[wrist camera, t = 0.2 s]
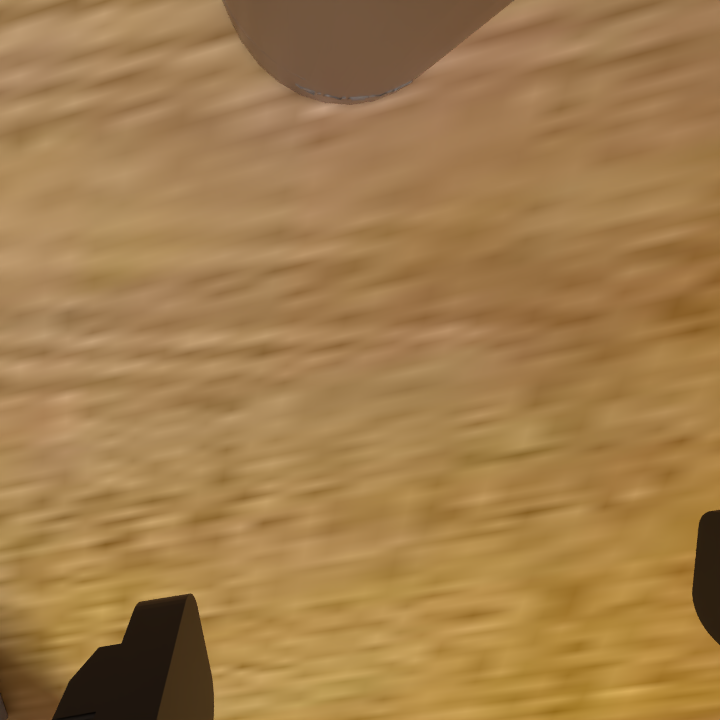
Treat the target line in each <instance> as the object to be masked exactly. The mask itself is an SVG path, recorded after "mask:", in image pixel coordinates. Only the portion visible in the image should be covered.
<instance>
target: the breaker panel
mask: <svg viewBox="0 0 720 720" xmlns="http://www.w3.org/2000/svg"><path fill="white" fill-rule="evenodd" d="M7 718H8V715H7V712H6V709H5V706H4V703H3V700H2V698H1V695H0V720H7Z"/></svg>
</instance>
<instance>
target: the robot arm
mask: <svg viewBox="0 0 720 720" xmlns="http://www.w3.org/2000/svg"><path fill="white" fill-rule="evenodd" d="M222 1H223V3H224V6H225V8H226V11H227V13H228V15H229V17H230V19H231V21H232V23H233V25H234V27H235V29H236V31H237V33H238V35H239V37H240V40H241V41H242V43H243V44H244V45H245V47H246V48H247V49H248V51H249V52H250V53H251V55H252V56H253V57H254V59H255V60H256V61H257V63H258V64H259V65H260V66H261V67H262V68H264V69H265V70H266V71H267V72H268V73H269V74H270V75H271V76H273V77H274V78H275V79H276V80H277V81H278V82H279V83H281V84H283V85H285V86H286V87H288V88H290V89H292V90H293V91H295V92H297V93H299V94H300V95H302V96H306V97H309V98H312V99H315V100H318V101H321V102H325V103H334V104H347V105H351V104H358V103H364V102H371V101H375V100H377V99H380V98H382V97H385V96H387V95H390V94H392V93H395V92H397V91H398V90H400V89H401V88H403V87H405V86H407V85H408V84H410V83H412V82H413V80H414V79H416V78H417V77H418V76H419V75H421V74H422V73H423V72H424V71H426V70H427V69H428V68H430V67H431V66H432V65H434V64H435V63H436V62H438V61H439V60H440V59H441V58H443V57H444V56H445V55H446V54H448V53H449V52H450V51H451V50H453V49H454V48H455V47H456V46H458V45H459V44H460V43H461V42H463V41H464V40H465V39H466V38H468V37H469V36H470V35H471V34H473V33H474V32H475V31H476V30H478V29H479V28H480V27H481V26H483V25H484V24H485V23H486V22H488V21H489V20H490V19H491V18H493V17H494V16H495V15H496V14H498V13H499V12H500V11H501V10H503V9H504V8H505V7H506V6H508V5H509V4H510V3H511V2H513V1H514V0H222ZM692 596H693V602H694V606H695V610H696V612H697V615H698V617H699V619H700V621H701V623H702V625H703V626H704V628H705V629H706V631H707V632H708V633H709V634H710V635H711V636H712V638H713V639H714V640H715V641H716V642H717V643H718V644H719V645H720V510H716V511H709V512H707V513H705V514H704V515H703V516H702V517H701V519H700V522H699V528H698V538H697V548H696V559H695V569H694V579H693V590H692ZM213 717H214V692H213V681H212V675H211V670H210V665H209V660H208V655H207V650H206V646H205V641H204V636H203V631H202V626H201V622H200V617H199V612H198V607H197V603H196V600H195V598H194V596H193V594H185V595H179V596H173V597H167V598H160V599H154V600H148V601H142V602H139V603H138V604H137V605H136V607H135V609H134V611H133V614H132V616H131V619H130V622H129V625H128V627H127V630H126V633H125V635H124V638H123V641H122V643H121V644H116V645H110V646H104V647H99V648H98V649H97V650H96V651H95V653H94V654H93V655H92V656H91V657H90V658H89V659H88V660H87V662H86V663H85V664H84V665H83V666H82V667H81V668H80V670H79V671H78V672H77V673H76V674H75V675H74V676H73V678H72V679H71V680H70V681H69V683H68V685H67V688H66V690H65V692H64V694H63V697H62V699H61V701H60V703H59V705H58V708H57V710H56V712H55V714H54V717H53V719H52V720H213Z"/></svg>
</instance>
